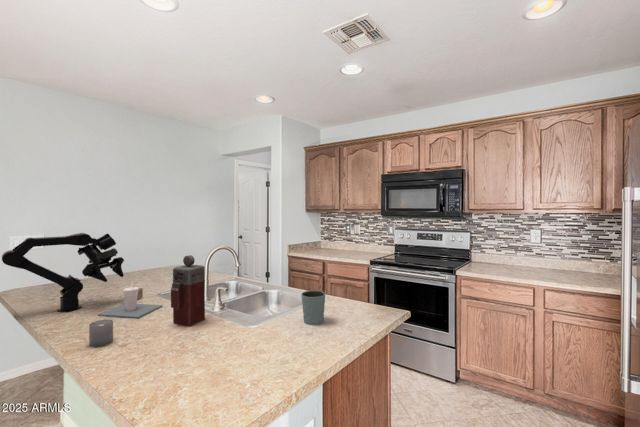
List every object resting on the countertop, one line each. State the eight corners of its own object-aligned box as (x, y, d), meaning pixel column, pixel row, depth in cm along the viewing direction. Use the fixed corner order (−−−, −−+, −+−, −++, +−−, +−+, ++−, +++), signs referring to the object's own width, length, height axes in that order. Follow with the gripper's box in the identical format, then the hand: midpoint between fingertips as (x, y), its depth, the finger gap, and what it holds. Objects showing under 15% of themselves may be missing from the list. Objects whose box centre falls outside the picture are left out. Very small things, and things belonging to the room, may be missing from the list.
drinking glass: (330, 321, 134) (330, 293, 134) (313, 328, 127) (313, 298, 126) (313, 315, 141) (313, 288, 141) (296, 321, 134) (296, 293, 133)
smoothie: (136, 311, 143) (136, 280, 142) (120, 312, 141) (120, 281, 141) (140, 306, 149) (140, 277, 149) (125, 307, 147) (125, 278, 147)
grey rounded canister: (84, 345, 110) (84, 325, 110) (102, 337, 117) (102, 318, 116) (99, 348, 108) (99, 328, 108) (117, 339, 115) (117, 320, 115)
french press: (168, 325, 129) (167, 257, 128) (189, 316, 139) (188, 253, 138) (185, 328, 125) (184, 258, 124) (205, 319, 136) (204, 254, 135)
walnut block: (127, 300, 161) (127, 291, 161) (132, 297, 166) (132, 288, 166) (138, 300, 162) (138, 290, 162) (142, 297, 167) (142, 288, 166)
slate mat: (97, 315, 139) (97, 314, 139) (125, 304, 155) (125, 302, 155) (138, 318, 136) (138, 316, 136) (162, 306, 152) (162, 305, 152)
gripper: (86, 246, 142) (107, 272, 140) (120, 241, 160) (139, 263, 158) (72, 263, 144) (93, 288, 142) (108, 256, 162) (127, 278, 160)
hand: (115, 278), depth 151 cm, fingers open, 9 cm apart
